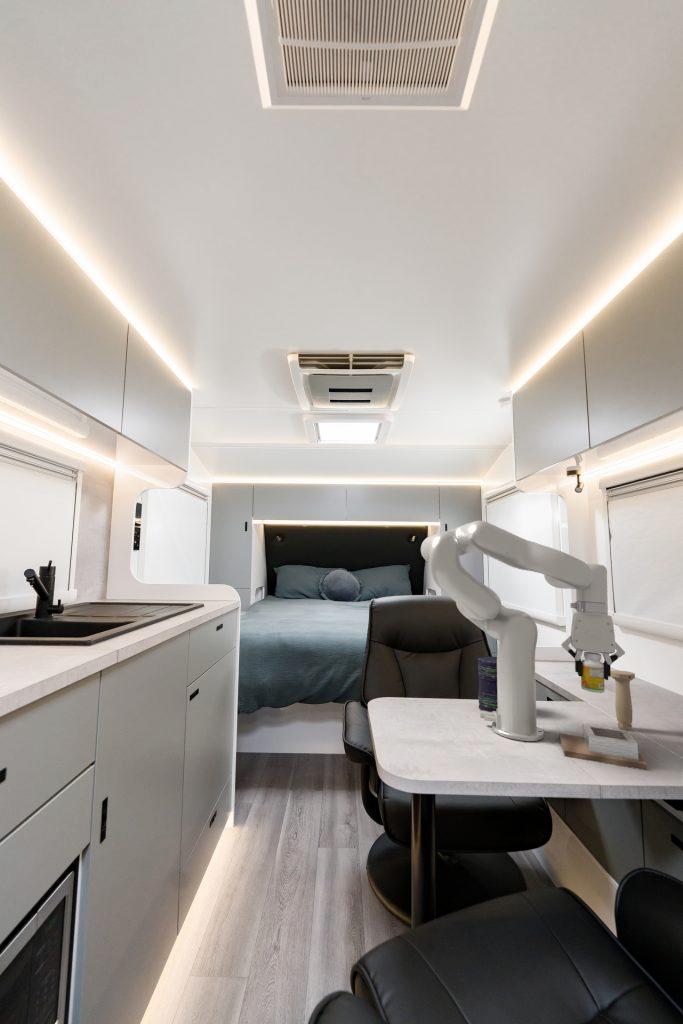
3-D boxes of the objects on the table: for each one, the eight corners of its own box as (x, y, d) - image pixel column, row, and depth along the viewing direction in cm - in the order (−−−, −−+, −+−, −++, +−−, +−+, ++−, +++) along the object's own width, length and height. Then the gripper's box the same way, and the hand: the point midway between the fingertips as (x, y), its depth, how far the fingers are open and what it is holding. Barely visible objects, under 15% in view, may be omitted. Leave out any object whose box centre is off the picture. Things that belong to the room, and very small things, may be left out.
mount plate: (564, 756, 98) (564, 750, 98) (559, 738, 109) (558, 733, 109) (647, 770, 92) (647, 764, 92) (632, 749, 103) (632, 744, 103)
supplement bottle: (579, 686, 118) (579, 650, 119) (601, 689, 116) (600, 652, 117) (583, 691, 113) (583, 653, 114) (607, 694, 111) (606, 655, 112)
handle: (642, 731, 116) (638, 674, 119) (623, 732, 115) (620, 674, 117) (626, 725, 121) (623, 670, 123) (608, 726, 120) (605, 670, 122)
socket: (589, 752, 97) (588, 736, 98) (582, 738, 106) (582, 723, 107) (638, 761, 94) (637, 744, 94) (627, 745, 103) (626, 730, 103)
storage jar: (509, 717, 124) (508, 664, 126) (475, 710, 129) (474, 659, 131) (514, 708, 132) (513, 659, 135) (481, 702, 137) (481, 655, 139)
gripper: (558, 606, 117) (558, 675, 114) (632, 612, 111) (633, 685, 108) (555, 605, 124) (555, 669, 121) (624, 611, 118) (626, 679, 115)
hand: (592, 676), depth 115 cm, fingers closed on supplement bottle, 5 cm apart
